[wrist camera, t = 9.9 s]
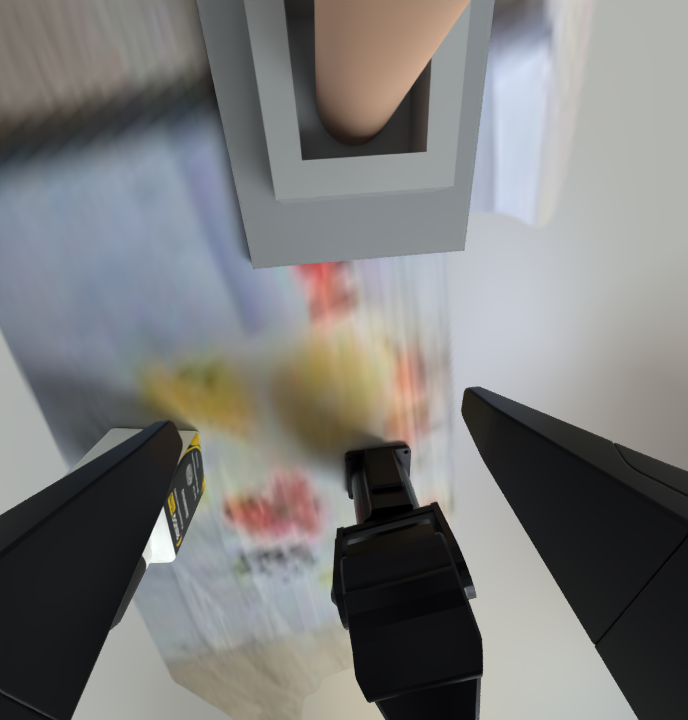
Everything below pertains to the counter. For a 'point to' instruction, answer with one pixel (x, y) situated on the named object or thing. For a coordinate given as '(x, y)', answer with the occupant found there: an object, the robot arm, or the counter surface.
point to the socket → (336, 160)
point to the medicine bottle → (175, 508)
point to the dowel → (373, 58)
